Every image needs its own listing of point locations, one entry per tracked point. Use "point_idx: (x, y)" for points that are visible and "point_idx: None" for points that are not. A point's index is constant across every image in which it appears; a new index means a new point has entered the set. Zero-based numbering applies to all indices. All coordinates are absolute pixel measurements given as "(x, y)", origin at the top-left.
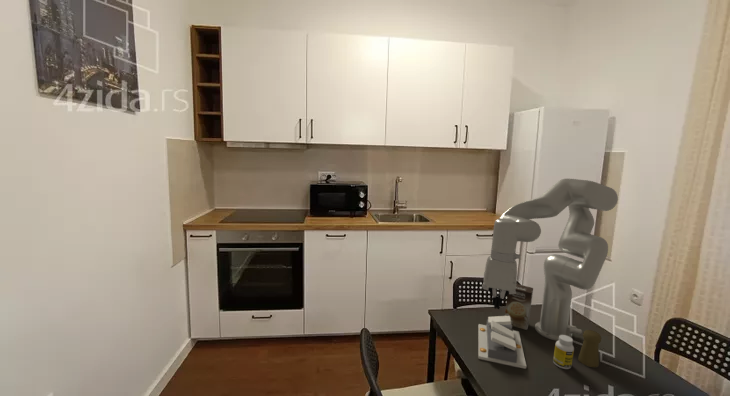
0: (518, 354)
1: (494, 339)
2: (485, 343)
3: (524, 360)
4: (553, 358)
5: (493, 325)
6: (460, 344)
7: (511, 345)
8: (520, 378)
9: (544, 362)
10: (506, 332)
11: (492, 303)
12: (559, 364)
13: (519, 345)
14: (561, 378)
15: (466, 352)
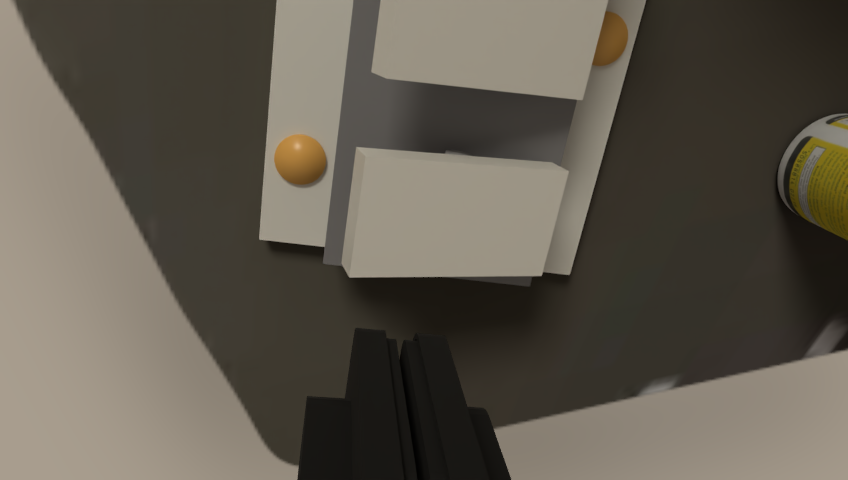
0: (565, 153)
1: (368, 272)
2: (333, 53)
3: (581, 217)
4: (797, 161)
5: (401, 48)
6: (120, 71)
7: (507, 272)
8: (496, 356)
9: (718, 169)
10: (529, 65)
11: (299, 465)
12: (799, 213)
13: (619, 29)
14: (736, 302)
15: (175, 174)
